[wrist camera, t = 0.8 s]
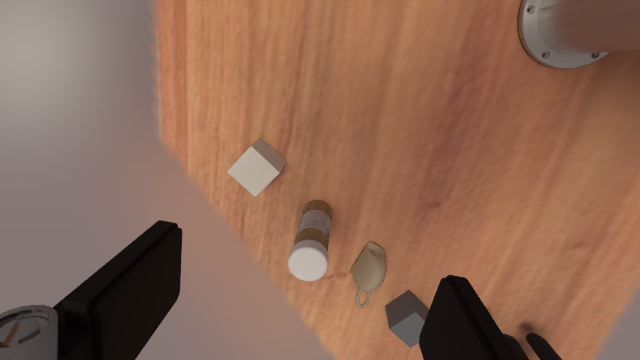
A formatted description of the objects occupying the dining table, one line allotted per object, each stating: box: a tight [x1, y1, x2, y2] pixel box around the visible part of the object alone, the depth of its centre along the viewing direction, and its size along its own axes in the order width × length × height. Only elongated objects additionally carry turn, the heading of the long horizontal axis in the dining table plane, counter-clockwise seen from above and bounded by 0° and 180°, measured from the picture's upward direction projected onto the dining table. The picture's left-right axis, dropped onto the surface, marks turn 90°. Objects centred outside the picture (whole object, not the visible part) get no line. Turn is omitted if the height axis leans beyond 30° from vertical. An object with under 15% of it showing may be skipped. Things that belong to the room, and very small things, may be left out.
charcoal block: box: [385, 290, 429, 348], centre depth 49 cm, size 5×5×5 cm
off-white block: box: [227, 138, 286, 197], centre depth 42 cm, size 5×5×5 cm
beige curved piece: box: [349, 241, 387, 308], centre depth 47 cm, size 4×8×5 cm, turn 152°
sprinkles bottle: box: [288, 201, 332, 281], centre depth 40 cm, size 5×5×13 cm
